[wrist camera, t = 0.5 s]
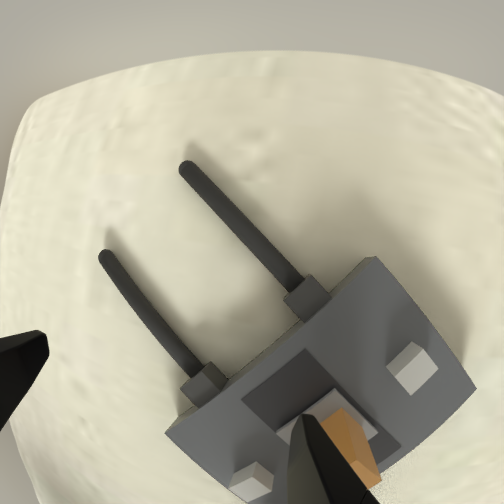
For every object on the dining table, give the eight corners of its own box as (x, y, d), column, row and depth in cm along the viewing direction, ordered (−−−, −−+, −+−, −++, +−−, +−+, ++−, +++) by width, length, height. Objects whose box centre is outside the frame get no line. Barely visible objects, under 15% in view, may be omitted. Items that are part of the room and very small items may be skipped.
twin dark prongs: (329, 305, 20) (331, 308, 19) (217, 398, 21) (213, 405, 20) (191, 160, 23) (185, 154, 21) (102, 257, 23) (92, 256, 22)
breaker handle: (377, 429, 16) (401, 484, 10) (321, 468, 16) (325, 527, 10) (334, 387, 17) (349, 440, 10) (276, 430, 17) (266, 490, 11)
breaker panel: (460, 377, 18) (489, 397, 13) (284, 505, 20) (280, 540, 15) (347, 237, 20) (362, 228, 16) (162, 400, 22) (134, 425, 17)
